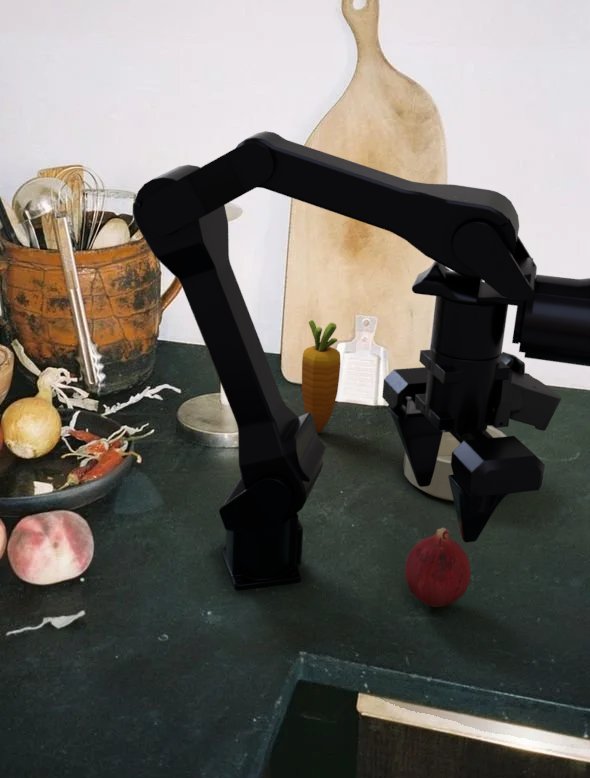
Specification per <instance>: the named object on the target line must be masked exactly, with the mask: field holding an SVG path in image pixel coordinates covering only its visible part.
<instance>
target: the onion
mask: <svg viewBox="0 0 590 778" xmlns="http://www.w3.org/2000/svg"><path fill="white" fill-rule="evenodd" d="M405 560H406V561H405V566H404V579H405V581H406V584H407V585H408V588H409V591H410V592H411V594H412V595H414V596H415V598H416V599H418V600H419V601H420V602H421V603H422V604H425V605H427V606H430V607H432V608H439V607H447V606H449V605H451V604H453V603H454V602H457V601H458V600H459V599H461V597H462V596H463V595H464V594H465V592H466V591H467V590H468V587H469V585H470V582H471V576H472V573H471V564H470V560H469V558H468V555H467V553H466V552H465V550H464V549H463V548H462V546H461V545H460V543H458V542H457V541H456V540H454V539H452V538H451V537H450V530H449V529H447V528H445V527H440V528H437V529H436V532H435V534H434V535H431V536H429V537H425V538H422V539H421V540H419V541H418V542H417V543H416V544H415V545H414V546H413V547H411V549H410V550H409V552H408V555H407V556H406V559H405Z"/></svg>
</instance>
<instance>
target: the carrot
mask: <svg viewBox="0 0 590 778" xmlns="http://www.w3.org/2000/svg"><path fill="white" fill-rule="evenodd" d="M308 325H309V328H310V329H311V333H312V336H313V340H314V345H312V346H309V347H307V348H305V349H304V350H303V353H302V359H301V393H302V402H303V407H304V412H305V413H304V414H307V413H311V414H312V416H313V418H314V423H315V428H316V432H317V435H318V434H320V433H322V432H323V430H324V429H325V427H326V426H327V424H328V422H329V420H330V418H331V416H332V414H333V411H334V408H335V404H336V401H337V395H338V391H339V383H340V382H339V381H340V373H341V353H340V351H339V350H338V349H336V348H334V347H332V346H333V345H334V344H335V343H337V342H338V339H337V338H335V337H333V338H331V337H332V336H333V334H334V333H335V331H336V330H337V324H336V323H334V322H329V323H328V324H327V325H326V327H325V328H324V330H323V328H322V327H321V326H318V327H317V325H316V323H315V321H314V320H313V319H311V320H309V321H308ZM322 332H323V334H322Z"/></svg>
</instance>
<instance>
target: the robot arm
mask: <svg viewBox="0 0 590 778" xmlns="http://www.w3.org/2000/svg"><path fill="white" fill-rule="evenodd" d="M256 188H258V189H259V188H260V189H264V190H268V191H271V192H274V193H276V194H279V195H282V196H285V197H288V198H291V199H294V200H296V201H300V202H303V203H306V204H307V205H311V206H314V207H316V208H320V209H323V210H326V211H329V212H332V213H335V214H337V215H340V216H343V217H347V218H350V219H352V220H355V221H358V222H360V223H361V222H362V223H364V224H367V225H370V226H372V227H376V228H378V229H380V230H381V229H382V230H384V231H388V232H389V233H392V234H394V235H396V236H398V237H400V238H401V239H403V240H405V241H406V242H407V243H408V244H409V245H411V246H412V247H414V248H415V249H417V250H418V252H420V253H422V254H423V256H425V257H427V258H429V259H431V260H433V263H432V264H431V265H430V267H428V268H427V269H425V270H424V271H422V272H420V273H419V274H417V276H416V277H415V280H414V282H413V284H412V286H411V292H412V293H413V294H416V295H423V296H424V295H425V296H431V297H435V301H434V309H433V318H432V319H433V320H432V330H431V339H430V346H429V349H420V350H419V360H418V361H419V363H421V365H423V367H409V368H407V367H406V368H394V369H393V370H392V371H390V373H389V374H388V375H386V376H385V377H384V379H383V385H382V386H383V387H382V395H381V396H382V399H383V400H384V401H385V402H386V403H387V410H388V413H389V414H390V415H391V418H392V421H393V423H394V425H395V428H396V430H397V433H398V436H399V438H400V441H401V443H402V446H403V449H404V452H405V451H406V454H407V457H408V459H409V462H410V465H411V468H412V470H413V473H414V476H415V479H416V481H417V484H418V485H419V486H420V487H425V486H429V485H430V484H431V480H432V477H433V474H434V470H435V465H436V461H437V457H438V452H439V448H440V443H441V439H442V434H443V432H450V433H451V434H452V435H453V436H454V437H455V438H456V439H457V440H458V442H459V443H460V445H459V446H458V447H457V448H456V449H455V450H454V451H453V452H452V457H451V467H452V471H453V474H452V475H449V476H448V477H449V482H450V487H451V491H452V496H453V500H454V501H453V504H454V509H455V514H456V520H457V524H458V528H459V531H460V535H461V540H462V541H463V543H465V544H466V543H474V542H476V541H478V539H479V537H480V535H481V534H482V532H483V530H484V529H485V527H486V526H487V524H488V522H489V521H490V519H491V517H492V516H493V514H494V512H495V511H496V509H497V507H498V506H499V505H500V503H501V502H502V501H503V500H504V498H505V497H507V496H508V495H509V494H516V493H517V494H518V493H526V492H534V491H539V490H540V489H541V487H542V484H543V479H544V474H545V466H546V465H545V463H544V462H543V461H542V460H541V459H540V458H539V457H538V456H537V455H536V453H534V452H533V451H532V450H531V449H529V448H528V447H527V446H526V445H525V444H524V443H523V442H522V441H521V440H519V439H518V438H517V437H516V435H506V436H507V437H496V438H493V437H492V436H491V435H490V434H489V433H488V432H487V431H486V430H487V426H492V427H494V428H495V429H498V428H509V424H510V420H512V421H515V422H519V423H521V424H525V425H528V426H533V427H534V429H536V430H538V431H541V432H544V431H547V428H548V426H549V424H550V422H551V421H552V418H553V416H554V415H555V412H556V410H557V409H558V407H559V405H560V403H561V401H562V397H561V395H559V394H558V393H557V392H556V391H554V390H553V389H551V387H549V386H547V385H546V384H545V383H543V382H542V381H541V380H539V379H537V378H535V377H534V376H532V375H531V374H529V373H528V372H526V363H525V362H524V361H522V360H521V358H519V357H518V356H516V355H514V354H511V353H508V352H505V351H503V344H504V337H505V333H506V332H505V331H506V323H507V317H508V309H509V306H515V307H516V311H515V312H516V313H515V319H514V326H513V332H512V333H513V334H512V341H511V343H512V344H516V345H519V347H518V348H519V349H518V352H519V353H524V358H525V359H533V360H539V361H546V362H547V361H548V362H554V363H561V364H567V365H575V366H582V367H590V277H588V278H572V277H571V278H570V277H563V276H553V275H544V274H537V271H538V268H537V267H538V266H537V264H536V263H535V261H534V258H533V257H532V256H531V254H530V253H529V251H528V249H527V248H526V246H525V245H524V243H523V242H522V240H521V238H520V237H519V231H520V220H519V214H518V212H517V210H516V208H515V206H514V204H513V202H512V201H511V200H510V199H509V198H508V197H507V196H506V195H503V194H502V193H500V192H499V191H496V190H492V189H485V188H479V187H473V186H472V187H471V186H465V185H458V184H449V183H445V184H444V183H425V182H418V181H412V180H409V179H405V178H403V177H399V176H396V175H393V174H391V173H387V172H384V171H381V170H378V169H375V168H372V167H370V166H366V165H364V164H360V163H357V162H354V161H351V160H349V159H347V158H346V159H345V158H343V157H339V156H337V155H333V154H330V153H327V152H325V151H321V150H318V149H314V148H312V147H309V146H306V145H303V144H300V143H297V142H294V141H291V140H288V139H286V138H284V137H282V136H281V135H280V134H278V133H276V132H273V131H266V130H265V131H261V132H257V133H255V134H253V135H251V136H249V137H247V138H245V139H243V140H242V141H241V142H239V143H238V144H237V145H236V147H235V148H233V149H232V150H230V151H228V152H226V153H225V154H223V155H221V156H218V157H217V158H215V159H214V160H212V161H209V162H207V163H206V164H204V165H202V166H199V165H192V164H185V165H181V166H177V167H174V168H173V169H170V170H169V171H166V172H165V173H162V174H161V175H158V176H157V177H154V178H152V179H150V180H149V181H147V182H145V183H144V184H143V185H142V186H141V187H140V189H139V190H138V191H137V193H136V196H135V199H134V202H133V203H132V214H133V216H132V217H133V219H134V223H135V225H136V227H137V229H138V231H139V232H140V234H141V235H142V237H143V239H144V241H145V242H146V244H147V246H148V247H149V249H150V250H151V252H152V254H153V256H154V257H155V259H157V260H158V262H160V263H161V264H162V265H163V266H164V267H165V268H166V269H167V270H168V271H169V272H170V273H171V275H173V276H174V277H175V278H176V279H177V280H178V282H179V284H180V285H181V287H182V290H183V292H184V295H185V297H186V300H187V303H188V305H189V307H190V310H191V312H192V315H193V318H194V320H195V322H196V326H197V327H198V330H199V332H200V333H199V334H200V336H201V337H202V340H203V342H204V345H205V347H206V350H207V353H208V355H209V358H210V360H211V363H212V365H213V368H214V371H215V372H216V375H217V377H218V380H219V382H220V385H221V388H222V390H223V392H224V395H225V397H226V400H227V403H228V405H229V408H230V410H231V413H232V415H233V418H234V420H235V423H236V426H237V436H238V437H237V439H238V440H237V441H238V442H237V443H238V467H239V471H240V477H239V478H238V480H237V482H236V483H235V485H234V486H233V488H232V490H231V491H230V493H229V495H227V498H226V499H225V500H224V502H223V503H222V505H221V507H220V508H219V509H218V512H219V516H220V518H221V521H222V524H223V527H224V529H225V537H226V539H225V545H224V546H222V547H221V556H222V558H223V561H224V563H225V567H226V569H227V571H228V575H229V577H230V580H231V582H232V585H233V587H234V589H237V590H244V589H251V588H252V589H253V588H259V587H267V586H275V585H284V584H292V583H298V582H301V580H302V572H301V570H300V569H299V567H298V566H299V565H301V563H302V560H303V541H304V540H303V539H304V538H303V537H304V528H303V526H302V523H301V522H300V520H299V514H298V513H299V512H300V511H301V510H303V508H304V506H305V504H306V502H307V501H308V498H309V496H310V495H311V492H312V490H313V489H314V486H315V484H316V482H317V480H318V478H319V476H320V474H321V472H322V469H323V463H324V459H323V456H324V454H325V452H326V450H327V446H326V445H325V444H324V442H323V441H321V438H320V437H319V435H318V434H317V432H316V428H315V423H314V418H313V416H312V414H311V413H307V414H306V413H304V414H302V415H299V416H298V415H297V414H295V412H293V411H292V410H291V409H290V408H289V406H287V404H286V403H285V401H284V400H283V397H282V394H281V392H280V389H279V387H278V384H277V382H276V379H275V376H274V374H273V370H272V369H271V366H270V363H269V361H268V358H267V355H266V353H265V350H264V348H263V345H262V343H261V340H260V338H259V334H258V331H257V330H256V327H255V324H254V322H253V319H252V316H251V314H250V311H249V309H248V306H247V303H246V301H245V299H244V296H243V293H242V290H241V288H240V284H239V283H238V280H237V278H236V274H235V272H234V270H233V267H232V265H231V261H230V252H229V251H230V250H229V243H230V241H229V240H230V239H229V220H228V216H227V215H228V214H227V210H226V206H225V205H227V204H229V203H230V202H232V201H234V200H236V199H238V198H239V197H242V196H243V195H245V194H247V193H249V192H251V191H253V190H254V189H256Z"/></svg>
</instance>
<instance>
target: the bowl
mask: <svg viewBox="0 0 590 778" xmlns="http://www.w3.org/2000/svg"><path fill="white" fill-rule="evenodd" d="M486 431H487V432H488V433H489V434H490V435H491V436H492V437H493V438H496V437H507V436H508V435H506V434H505V433H504V432H502V431H501V430H499V429H498V428H495V427H494V426H493V425H492V426H487V430H486ZM459 445H460V443H459V442H458V440H457V439H456V438H455V437H454V436H453V435H452V434H451V433H450V432H443V434H442V439H441V443H440V448H439V452H438V457H437V461H436V465H435V470H434V474H433V477H432V480H431V484H430V485H429V486H425V487H420V486H419V485H418V484H417V481H416V479H415V476H414V473H413V470H412V468H411V465H410V462H409V459H408V457H407V454H406V451H405V450H404V456H403V467H402V468H403V473H404V476H405V478H406V479H407V480H408V481H409V483H410V484H411V485H413V486H415V487H416V488H417V489H419V490H420V491H422V492H424V493H425V494H427V495H431V496H432V497H435V498H437V499H438V498H439V499H442V500H446V501H451V502H454V500H453V496H452V491H451V487H450V482H449V477H448V476H449V475H452V474H453V471H452V467H451V457H452V452H453V451H454V450H455V449H456V448H457V447H458V446H459Z"/></svg>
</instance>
